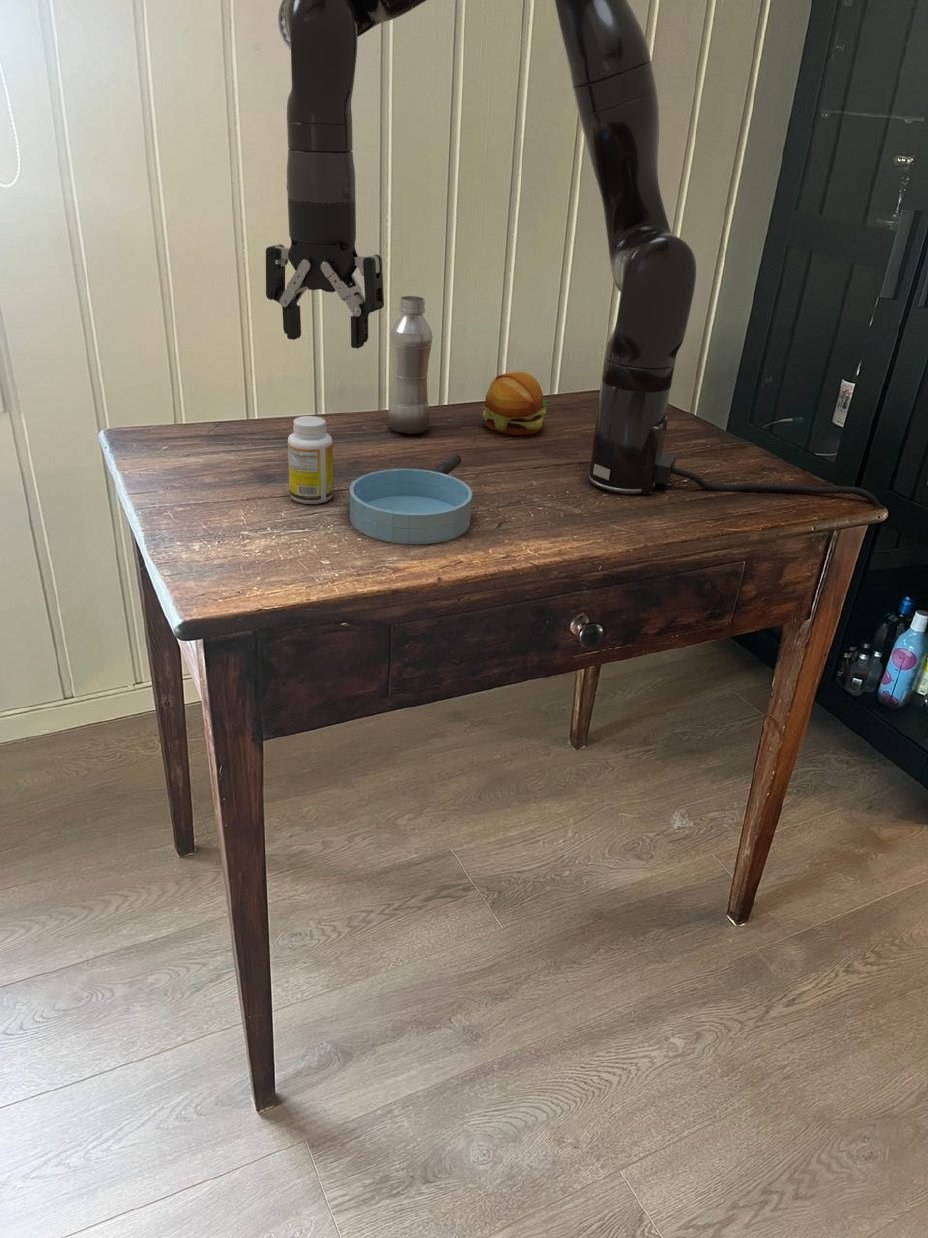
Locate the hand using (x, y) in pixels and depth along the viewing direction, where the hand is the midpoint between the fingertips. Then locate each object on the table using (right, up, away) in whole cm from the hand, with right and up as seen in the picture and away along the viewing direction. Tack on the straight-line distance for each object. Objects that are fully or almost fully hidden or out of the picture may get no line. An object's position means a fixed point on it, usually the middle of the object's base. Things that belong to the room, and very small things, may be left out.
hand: (325, 342), depth 114 cm
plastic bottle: (+8, -4, +34) cm, 35 cm away
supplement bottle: (-3, -18, +9) cm, 20 cm away
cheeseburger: (+25, -3, +38) cm, 46 cm away
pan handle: (+14, -14, +13) cm, 24 cm away
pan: (+10, -21, +4) cm, 23 cm away
